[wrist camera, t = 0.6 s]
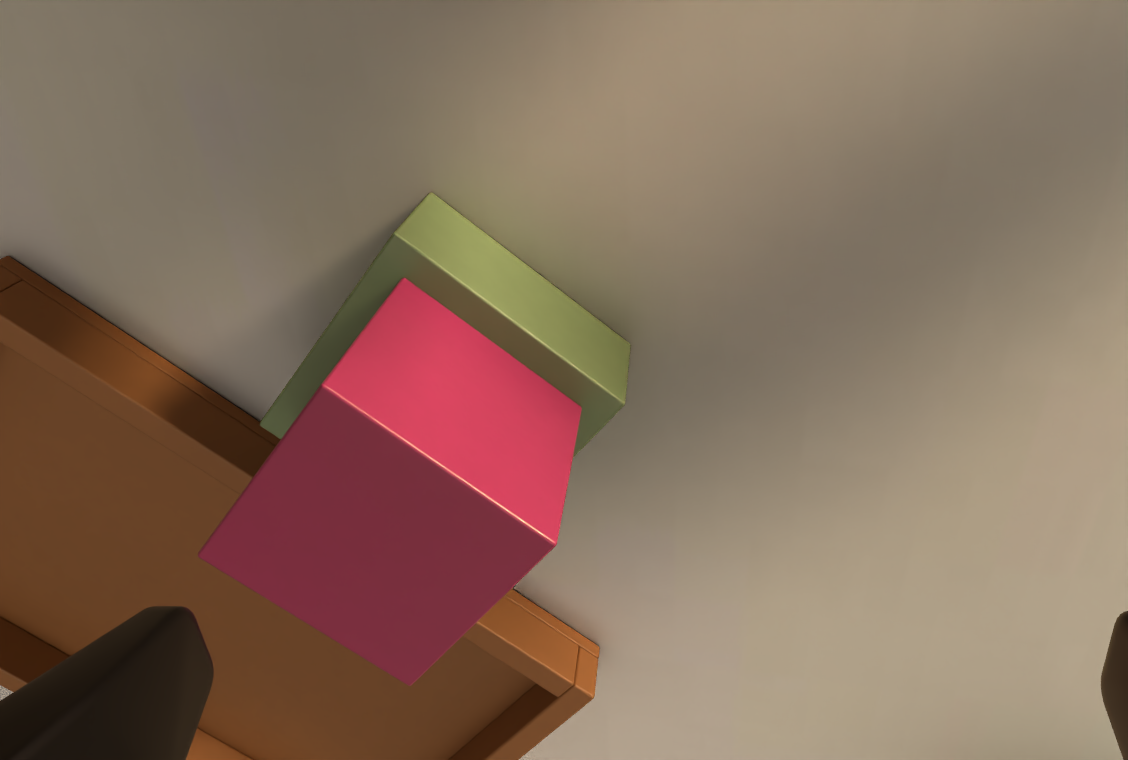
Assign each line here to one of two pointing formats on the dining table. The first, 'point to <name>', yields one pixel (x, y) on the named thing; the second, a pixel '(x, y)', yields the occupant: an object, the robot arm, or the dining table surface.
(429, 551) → the mulberry block
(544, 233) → the dining table surface
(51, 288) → the tray
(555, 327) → the green rectangular block
